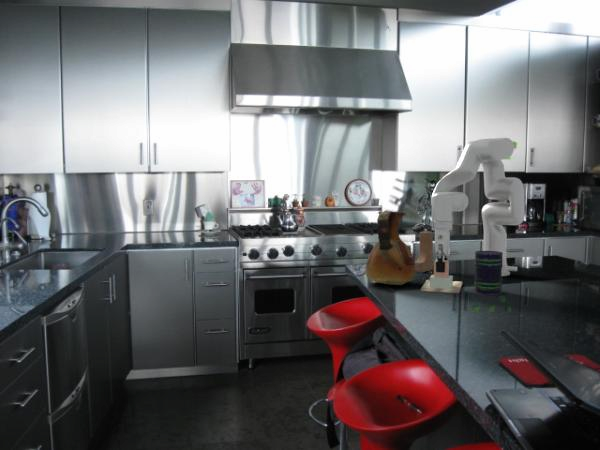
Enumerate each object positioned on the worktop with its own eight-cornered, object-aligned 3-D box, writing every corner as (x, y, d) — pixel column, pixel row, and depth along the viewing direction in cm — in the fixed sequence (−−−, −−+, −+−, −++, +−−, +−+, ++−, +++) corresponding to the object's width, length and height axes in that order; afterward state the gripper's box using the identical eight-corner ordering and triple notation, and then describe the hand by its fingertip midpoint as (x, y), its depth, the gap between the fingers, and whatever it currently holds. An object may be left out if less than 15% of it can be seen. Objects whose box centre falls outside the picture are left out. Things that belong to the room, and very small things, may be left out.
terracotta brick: (448, 275, 209) (448, 260, 208) (447, 278, 204) (447, 262, 204) (435, 275, 211) (435, 259, 210) (433, 277, 206) (433, 261, 205)
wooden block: (421, 272, 245) (421, 233, 243) (413, 271, 248) (413, 232, 247) (432, 270, 251) (433, 231, 249) (424, 269, 254) (425, 231, 252)
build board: (462, 284, 218) (462, 281, 217) (459, 293, 201) (459, 290, 201) (426, 282, 222) (426, 279, 222) (421, 290, 206) (421, 288, 205)
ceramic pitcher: (420, 281, 225) (420, 209, 222) (408, 290, 206) (408, 212, 204) (374, 278, 233) (374, 208, 230) (359, 287, 215) (359, 211, 212)
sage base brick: (452, 285, 209) (452, 275, 209) (451, 288, 204) (451, 278, 203) (431, 284, 212) (431, 274, 212) (429, 287, 206) (429, 277, 206)
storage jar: (502, 290, 205) (502, 251, 204) (502, 295, 196) (503, 254, 194) (474, 288, 208) (474, 250, 207) (473, 294, 199) (474, 253, 198)
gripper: (450, 227, 196) (449, 274, 198) (453, 223, 213) (453, 266, 214) (429, 227, 199) (428, 273, 200) (434, 223, 215) (434, 266, 217)
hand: (441, 270), depth 207 cm, fingers open, 9 cm apart
